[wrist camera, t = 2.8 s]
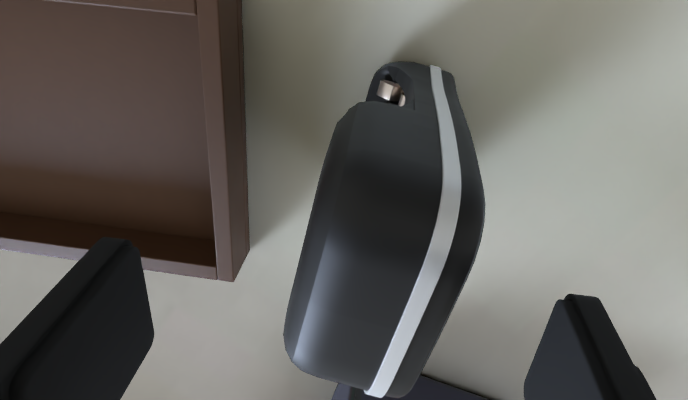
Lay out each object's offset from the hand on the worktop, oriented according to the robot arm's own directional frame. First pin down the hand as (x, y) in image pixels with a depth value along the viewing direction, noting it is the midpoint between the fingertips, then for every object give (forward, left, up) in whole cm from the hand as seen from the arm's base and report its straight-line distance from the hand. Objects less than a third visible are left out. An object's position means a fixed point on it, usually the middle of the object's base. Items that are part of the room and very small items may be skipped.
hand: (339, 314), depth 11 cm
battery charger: (-1, 0, -12) cm, 12 cm away
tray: (+14, +1, -11) cm, 18 cm away
